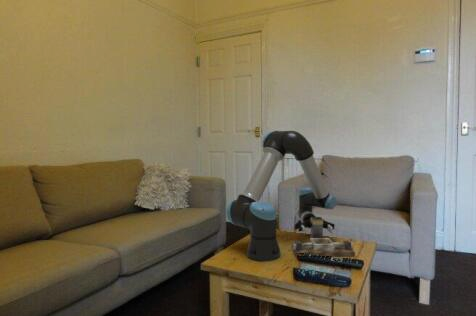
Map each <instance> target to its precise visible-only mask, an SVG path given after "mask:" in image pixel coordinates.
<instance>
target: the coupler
mask: <svg viewBox="0 0 476 316" xmlns="http://www.w3.org/2000/svg"><path fill="white" fill-rule="evenodd" d="M323 220H324V218H322V216H316V217H311V228H310V238H324V231H323V230H324V228H323Z"/></svg>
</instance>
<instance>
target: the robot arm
mask: <svg viewBox="0 0 476 316" xmlns="http://www.w3.org/2000/svg"><path fill="white" fill-rule="evenodd" d="M261 146H262V152H263V155H262V157H261V158H260V160H259V162H258V164H257V165H256V168H255V170H254V172H253V174H252V176H251V178H250V180H249V182H248V183H247V185H246V187H245V189H244V191H243V193H239V194H238V196H237V197H236V199H234V200H231V201H229V203H228V205H227V207H226V215H227V217H226V218H227V220H228V222H230V223H231V224H233V225H235V226H237V227H240V228H241V227H242V228H245V229H248V230H249V231H250V233H249V234H250V237H249V242H248V245H247V249H246V257H247V258H248V259H251V260H254V261H257V262H269V261H270V262H271V261H275V260H278V259H279V258H280V257H281V248H280V246H279V243H278V238H277V220H278V219H277V217H278V214H277V209H276V208H277V207H276V206H275V205H273V204H272V203H269V202H267V201H261V198H262V196H263V194H264V192H265V190H266V189H267V187H268V184H269V182H270V180H271V178H272V176H273V174H274V172H275V169H276V167H277V165H278V164H279V162H281V161H283V160H284V158H285V156H286V155H293V157H294V159H295V161H297V162H299V164H300V167H301V169H302V171H303V173H304V175H305V178H306V179H307V183H308V184H309V187H302V188H299V192H298V193H299V194H298V198H299V199H298V203H299V204H298V211H297V216H298V220H297V222H296V223H295V224H294V230H295V231H297V230H298V232H301V233H302V234H303V235H306V228H308V229H311V217H317V216H316V215H315V214H314V213H313V212H314V211H313V208H314V207H316V208H321V209H325V210H334V209H335V207H337V201H338V200H337V198H336V196H334V195H332V194H331V195H330V193H329V190H328V188H327V185H326V183H325V181H324V177H323V176H322V174H321V171H320V169H319V167H318V164H317V161H316V159H315V157H314V154H315V152H314V150H313V149H314V148H313V147H312V145H311V144H310V142H309V141H308V139H307V138H306V137H305V136H304V135H303V134H302V133H300V132H298V131H296V130H274V131H268V132H267V133H266V134H265V135H264V137H263V139H262V145H261ZM335 226H336V225H335V224H334V223H332V222H329V221H326V220H325V219H323V229H326V230H327V231H328V232H329V233H330V235H333V234H334V230H335Z"/></svg>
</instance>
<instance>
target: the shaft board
mask: <svg viewBox="0 0 476 316" xmlns="http://www.w3.org/2000/svg"><path fill="white" fill-rule="evenodd" d="M353 249H354V244H353V243H352V242H351V241H350V240H343V242H336V241H335V242H333V240H332V239H330V238H327V237H326V238H325V237H323V238H311V237H310V238H309V242H303V243H302V241H301V240H295V243H291V250H292V252H293V255H294V257H295V258H298V257H297V255H298V254H299V253H308V254H315V255H325V256H332V257H331V258H333V257H340V258H341V257H342V258H344V257H345V258H347V257H351V258H352V257H355V256H356V255H355V254H356V251H354V250H353Z"/></svg>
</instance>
